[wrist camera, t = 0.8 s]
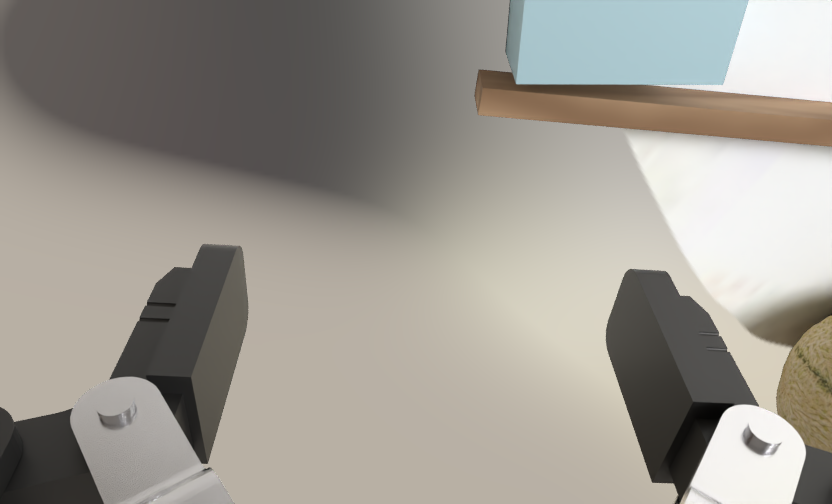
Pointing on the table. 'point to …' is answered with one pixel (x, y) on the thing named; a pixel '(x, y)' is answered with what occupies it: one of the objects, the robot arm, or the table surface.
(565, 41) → the block
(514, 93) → the maze
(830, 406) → the cantaloupe
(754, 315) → the table surface
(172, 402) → the robot arm
